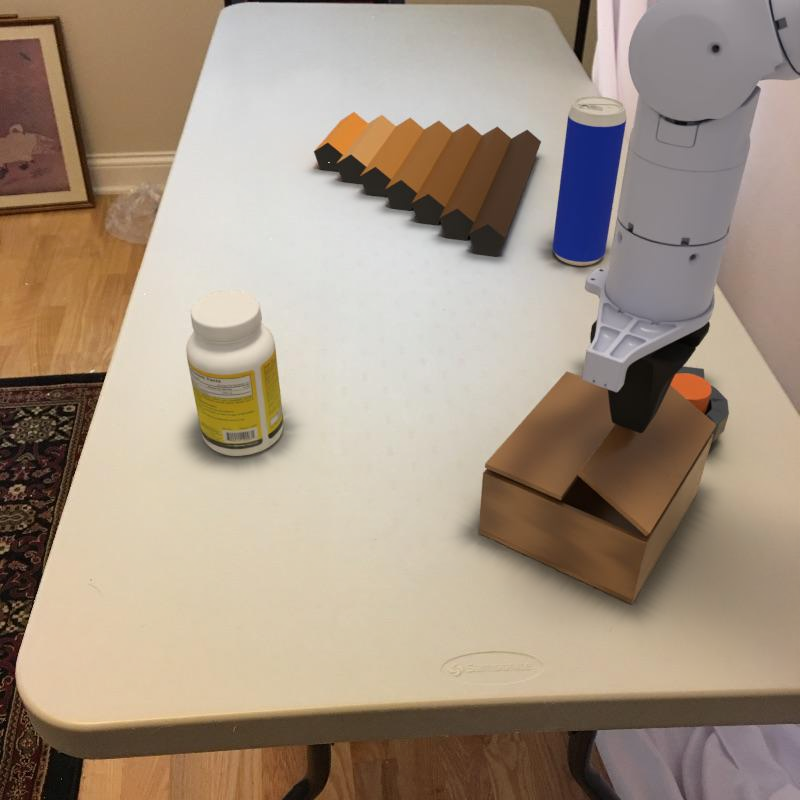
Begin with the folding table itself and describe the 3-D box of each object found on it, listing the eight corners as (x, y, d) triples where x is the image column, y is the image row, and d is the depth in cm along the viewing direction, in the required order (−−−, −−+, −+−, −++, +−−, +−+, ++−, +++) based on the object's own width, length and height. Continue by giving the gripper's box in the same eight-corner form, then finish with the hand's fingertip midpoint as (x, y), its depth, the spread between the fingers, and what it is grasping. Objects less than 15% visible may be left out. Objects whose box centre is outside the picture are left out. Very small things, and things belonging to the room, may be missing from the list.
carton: (697, 493, 63) (716, 424, 59) (631, 604, 55) (649, 533, 52) (556, 437, 68) (566, 370, 64) (477, 532, 60) (483, 463, 56)
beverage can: (604, 244, 91) (627, 97, 82) (604, 270, 87) (629, 117, 78) (552, 240, 92) (570, 93, 83) (550, 265, 88) (568, 113, 79)
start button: (705, 394, 68) (710, 375, 67) (707, 421, 65) (713, 402, 64) (661, 389, 68) (666, 370, 67) (662, 415, 66) (666, 396, 65)
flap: (712, 427, 60) (716, 424, 59) (645, 536, 52) (649, 533, 52) (651, 374, 60) (655, 371, 60) (576, 474, 52) (579, 471, 52)
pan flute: (503, 257, 89) (539, 158, 108) (506, 226, 87) (542, 131, 106) (267, 226, 94) (341, 136, 113) (264, 195, 92) (340, 110, 111)
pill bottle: (252, 396, 72) (237, 274, 65) (300, 433, 68) (290, 308, 61) (185, 430, 68) (161, 305, 62) (231, 471, 65) (212, 343, 58)
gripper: (651, 156, 54) (616, 345, 62) (540, 256, 44) (517, 463, 53) (771, 185, 51) (718, 379, 59) (680, 298, 41) (632, 511, 50)
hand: (630, 422), depth 56 cm, fingers closed
